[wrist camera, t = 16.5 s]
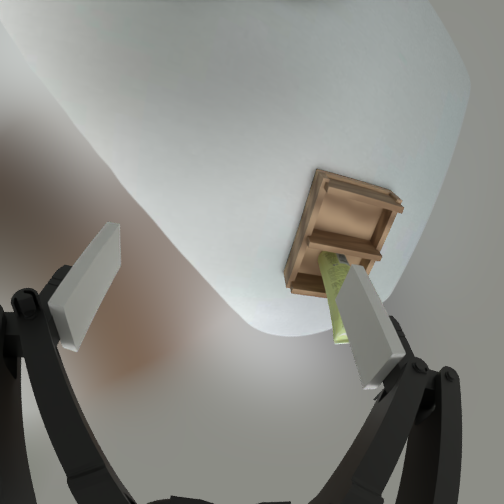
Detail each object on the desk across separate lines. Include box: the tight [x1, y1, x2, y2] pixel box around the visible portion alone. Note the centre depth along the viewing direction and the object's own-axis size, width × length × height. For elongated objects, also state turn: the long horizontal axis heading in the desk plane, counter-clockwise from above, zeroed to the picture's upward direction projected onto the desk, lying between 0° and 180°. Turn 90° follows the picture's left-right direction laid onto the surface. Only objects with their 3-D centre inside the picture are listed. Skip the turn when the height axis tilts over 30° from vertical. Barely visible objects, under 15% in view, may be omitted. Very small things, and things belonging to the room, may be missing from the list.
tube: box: [318, 251, 350, 344], centre depth 43 cm, size 6×5×20 cm
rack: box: [284, 169, 404, 298], centre depth 47 cm, size 20×14×6 cm
